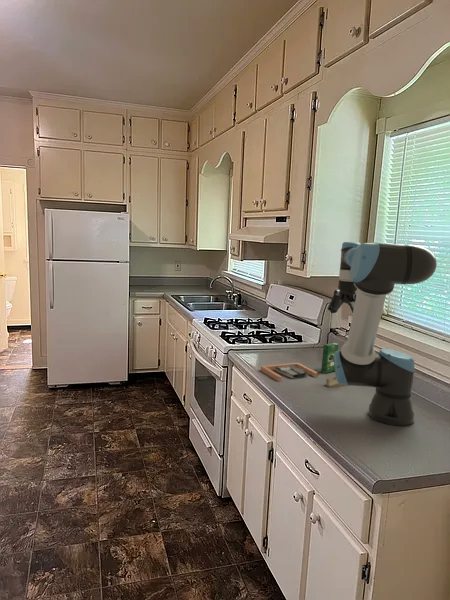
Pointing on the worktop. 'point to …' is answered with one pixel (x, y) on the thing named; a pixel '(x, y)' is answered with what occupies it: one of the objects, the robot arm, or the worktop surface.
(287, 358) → the worktop surface
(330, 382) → the wooden scraper
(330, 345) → the coffee box
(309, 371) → the tile bay
